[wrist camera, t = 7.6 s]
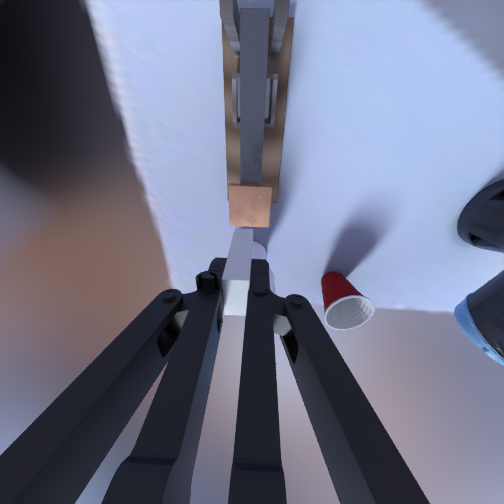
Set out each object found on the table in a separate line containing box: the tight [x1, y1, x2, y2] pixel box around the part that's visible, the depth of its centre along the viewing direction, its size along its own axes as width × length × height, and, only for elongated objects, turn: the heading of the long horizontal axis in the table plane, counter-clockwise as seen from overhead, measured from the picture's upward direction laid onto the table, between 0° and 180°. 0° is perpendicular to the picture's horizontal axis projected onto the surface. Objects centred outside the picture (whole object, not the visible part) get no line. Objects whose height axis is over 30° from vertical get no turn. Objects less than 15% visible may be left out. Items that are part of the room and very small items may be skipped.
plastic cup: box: [321, 272, 375, 330], centre depth 49 cm, size 11×11×12 cm
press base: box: [220, 0, 294, 203], centre depth 30 cm, size 26×10×15 cm, turn 178°
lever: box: [228, 8, 272, 227], centre depth 27 cm, size 23×6×5 cm, turn 178°
